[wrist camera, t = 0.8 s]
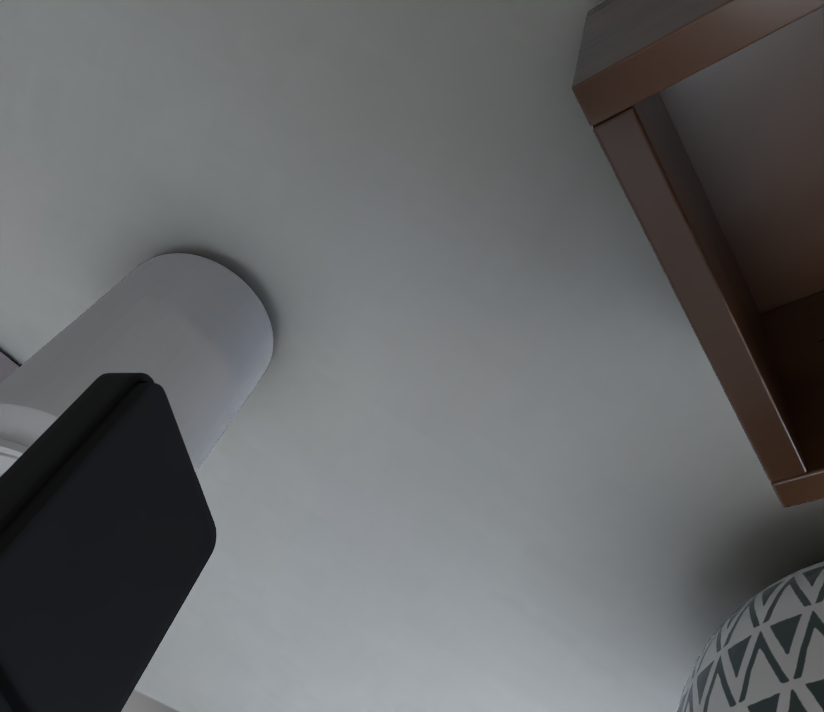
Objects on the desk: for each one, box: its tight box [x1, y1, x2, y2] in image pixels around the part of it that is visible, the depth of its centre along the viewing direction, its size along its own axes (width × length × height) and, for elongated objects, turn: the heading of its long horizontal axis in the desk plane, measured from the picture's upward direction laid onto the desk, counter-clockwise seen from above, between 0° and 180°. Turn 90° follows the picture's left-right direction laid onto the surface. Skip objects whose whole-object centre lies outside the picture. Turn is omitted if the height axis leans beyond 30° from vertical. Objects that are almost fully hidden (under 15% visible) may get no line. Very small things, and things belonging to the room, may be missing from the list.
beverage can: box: [0, 253, 274, 477], centre depth 27 cm, size 6×6×12 cm
